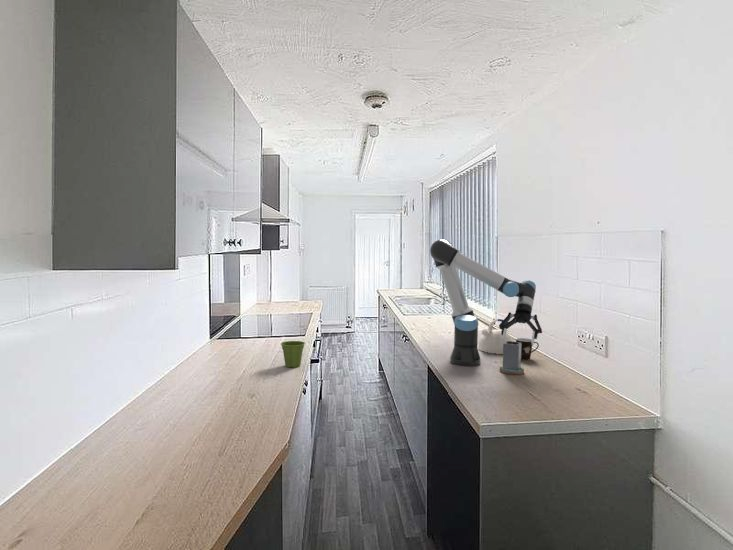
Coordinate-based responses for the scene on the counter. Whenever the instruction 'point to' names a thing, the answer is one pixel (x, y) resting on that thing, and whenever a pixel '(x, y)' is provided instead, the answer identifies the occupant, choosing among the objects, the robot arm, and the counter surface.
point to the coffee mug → (526, 348)
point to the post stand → (512, 371)
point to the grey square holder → (512, 355)
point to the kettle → (493, 339)
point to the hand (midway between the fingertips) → (517, 342)
